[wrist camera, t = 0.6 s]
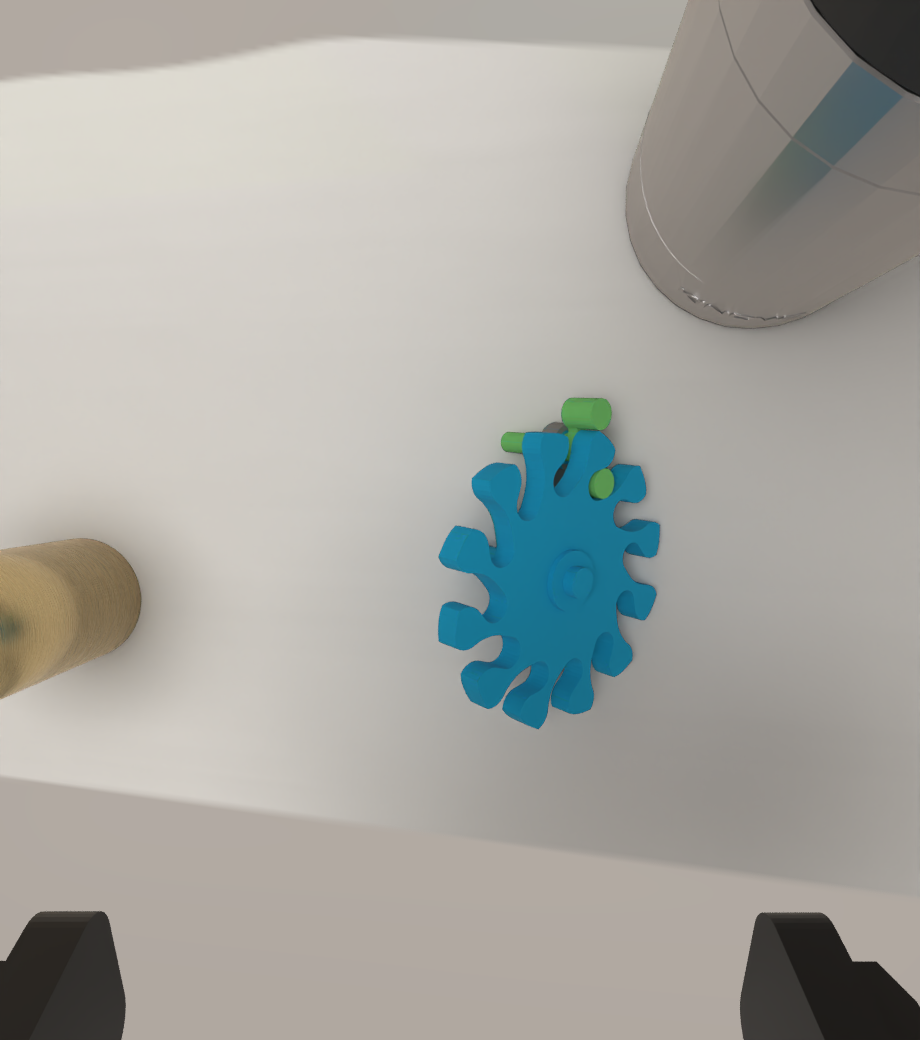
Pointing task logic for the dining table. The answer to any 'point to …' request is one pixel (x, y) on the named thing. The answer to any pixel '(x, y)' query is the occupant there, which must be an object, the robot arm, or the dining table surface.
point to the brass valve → (61, 608)
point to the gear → (551, 567)
